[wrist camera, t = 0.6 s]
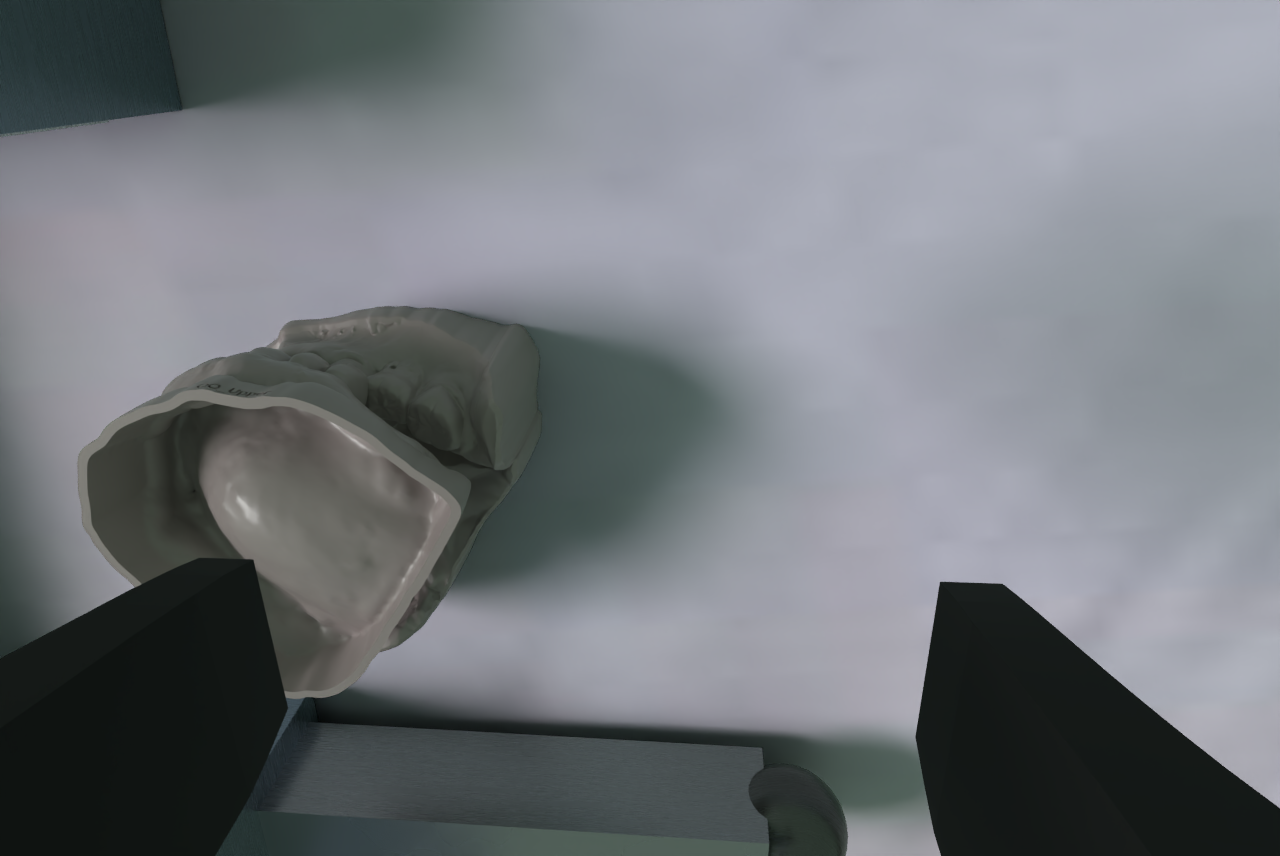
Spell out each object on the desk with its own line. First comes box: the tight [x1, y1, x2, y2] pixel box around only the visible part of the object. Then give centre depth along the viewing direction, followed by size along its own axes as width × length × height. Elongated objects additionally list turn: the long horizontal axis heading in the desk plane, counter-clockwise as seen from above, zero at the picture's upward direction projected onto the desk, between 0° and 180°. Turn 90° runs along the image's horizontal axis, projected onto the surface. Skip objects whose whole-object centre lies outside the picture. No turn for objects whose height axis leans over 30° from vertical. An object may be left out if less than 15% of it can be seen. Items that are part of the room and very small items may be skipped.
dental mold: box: [78, 306, 542, 699], centre depth 17 cm, size 8×7×5 cm
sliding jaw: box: [216, 697, 848, 856], centre depth 20 cm, size 4×24×6 cm, turn 90°
